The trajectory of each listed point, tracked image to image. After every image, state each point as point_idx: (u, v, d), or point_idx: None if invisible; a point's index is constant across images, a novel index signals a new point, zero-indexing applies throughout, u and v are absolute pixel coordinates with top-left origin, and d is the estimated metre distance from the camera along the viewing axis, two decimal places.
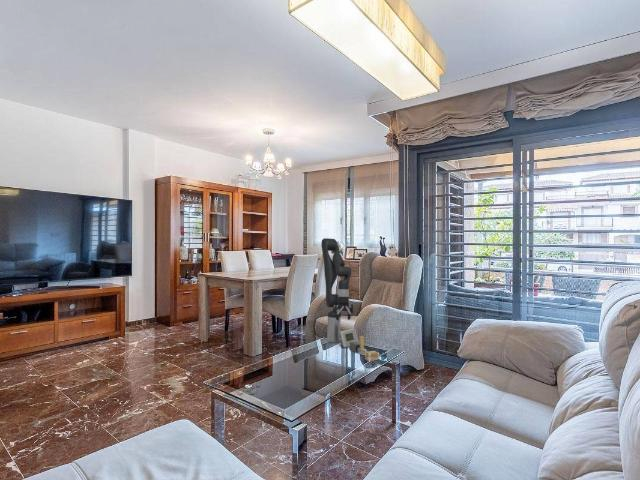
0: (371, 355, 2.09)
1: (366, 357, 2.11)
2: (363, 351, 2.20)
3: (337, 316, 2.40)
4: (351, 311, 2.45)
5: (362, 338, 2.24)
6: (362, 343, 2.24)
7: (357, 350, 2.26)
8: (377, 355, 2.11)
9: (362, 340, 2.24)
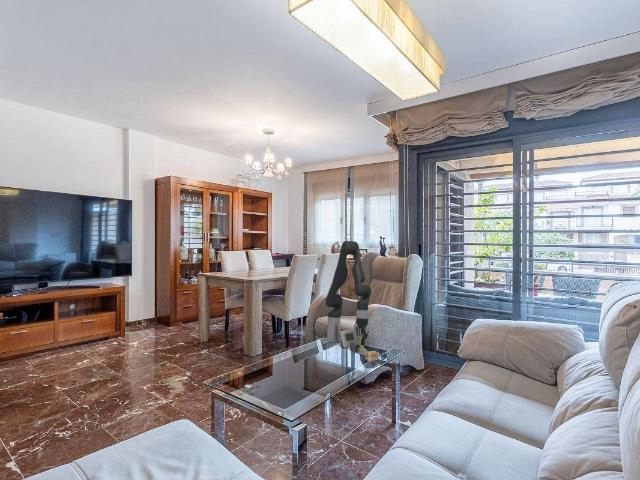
0: (371, 355, 2.09)
1: (366, 357, 2.11)
2: (363, 351, 2.20)
3: None
4: (360, 334, 2.28)
5: None
6: None
7: (357, 350, 2.26)
8: (377, 355, 2.11)
9: None
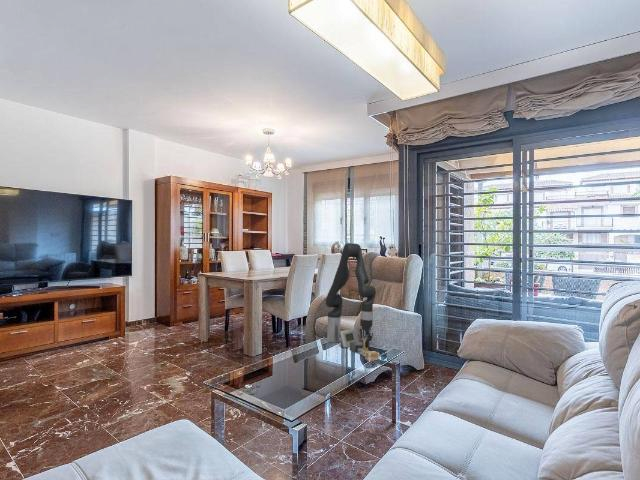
0: (371, 355, 2.09)
1: (366, 357, 2.11)
2: None
3: None
4: (364, 336, 2.23)
5: None
6: None
7: (361, 352, 2.21)
8: (377, 355, 2.11)
9: None
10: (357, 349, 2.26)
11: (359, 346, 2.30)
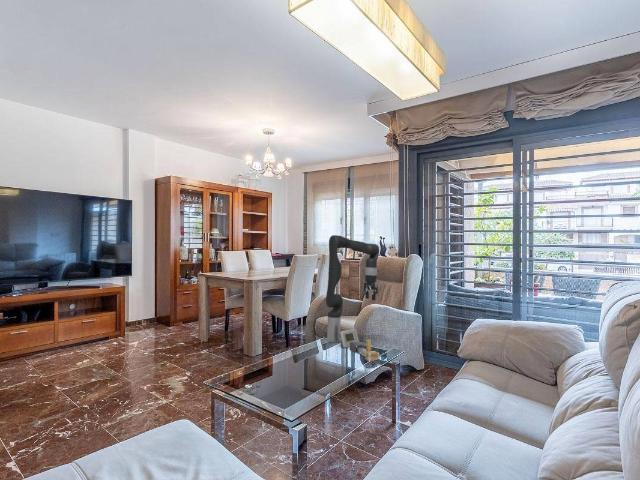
0: (371, 355, 2.09)
1: (366, 357, 2.11)
2: None
3: None
4: None
5: (369, 341, 2.16)
6: (369, 347, 2.16)
7: (364, 354, 2.18)
8: (377, 355, 2.11)
9: (369, 343, 2.16)
10: (360, 350, 2.23)
11: None
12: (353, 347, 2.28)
